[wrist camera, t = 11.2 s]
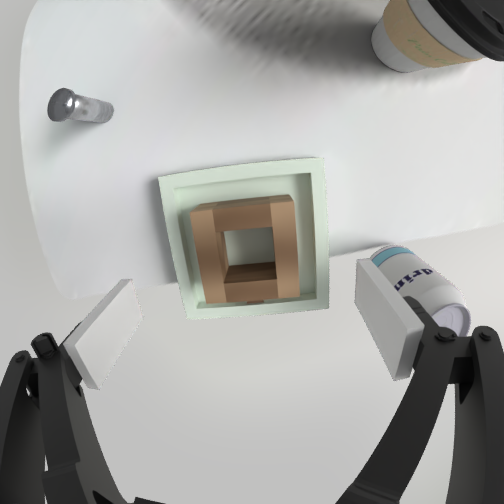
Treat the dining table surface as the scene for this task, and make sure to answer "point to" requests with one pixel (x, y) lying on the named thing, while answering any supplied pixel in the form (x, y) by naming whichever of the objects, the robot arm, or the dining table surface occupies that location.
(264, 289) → the brown rectangular frame
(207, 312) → the tray
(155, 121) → the dining table surface
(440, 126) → the dining table surface
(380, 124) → the dining table surface
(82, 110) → the grey round-topped rod
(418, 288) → the beverage can
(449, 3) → the coffee cup
